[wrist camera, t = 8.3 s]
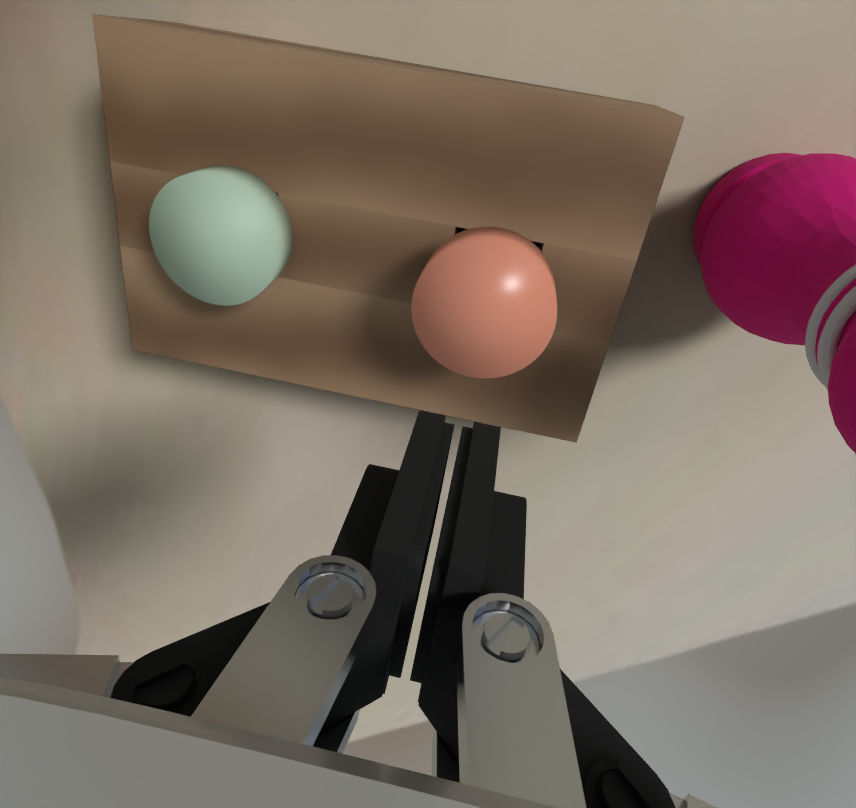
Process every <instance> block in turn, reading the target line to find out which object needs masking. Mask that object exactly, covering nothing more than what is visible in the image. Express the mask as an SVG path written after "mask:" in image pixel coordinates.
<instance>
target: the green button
mask: <svg viewBox="0 0 856 808" xmlns="http://www.w3.org/2000/svg"><path fill="white" fill-rule="evenodd" d="M149 232H150V239H151V243H152V246H153V249H154V252H155V254H156V257H157V259H158V261H159V262H160V264H161V266H162V267H163V269H164V270H165V272H166V273H167V274H168V276H169V277H170V278H171V279H172V280H173V281H174V282H175V283H176V284H177V285H178V286H179V287H180V288H182V289H183V290H184V291H185V292H187V293H188V294H190V295H192V296H193V297H195V298H197V299H199V300H202V301H204V302H207V303H211V304H215V305H222V306H230V305H238V304H241V303H245V302H247V301H249V300H251V299H253V298H254V297H256V296H257V295H258V294H259V293H261V292H262V291H263V290H264V289H265V288H267V287H268V286H269V285H270V284H271V283H272V282H274V281H275V280H276V279H277V278H278V277H279V276H280V275H281V274H282V273H283V271H284V270H285V268H286V267H287V265H288V263H289V260H290V258H291V254H292V249H293V231H292V225H291V222H290V218H289V215H288V213H287V211H286V208H285V207H284V205H283V203H282V201H281V200H280V198H279V197H278V193H275V192H274V190H273V189H272V188H271V187H270V186H269V185H268V184H267V183H266V182H264V181H263V180H262V179H260V178H259V177H258V176H256V175H255V174H253V173H251V172H249V171H247V170H244V169H242V168H239V167H235V166H229V165H215V166H210V167H206V168H203V169H200V170H197V171H194V172H191V173H188V174H185V175H182V176H179V177H177V178H175V179H173V180H171V181H170V182H168V183H167V184H166V185H165V186H164V187H163V188H162V189H161V190H160V191H159V192H158V194H157V196H156V197H155V199H154V202H153V204H152V207H151V211H150V217H149Z"/></svg>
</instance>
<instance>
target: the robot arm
mask: <svg viewBox="0 0 856 808" xmlns="http://www.w3.org/2000/svg"><path fill="white" fill-rule="evenodd" d="M453 429H454V424H449V423H445V415H440V414H436V413H431V412H426V411H421V410H420V411H419V413H418V416H417V419H416V422H415V425H414V428H413V431H412V434H411V437H410V440H409V443H408V446H407V449H406V452H405V455H404V458H403V461H402V464H401V467H400V470H395V469H390V468H385V467H381V466H376V465H371V464H369V465H368V466H367V469H366V471H365V473H364V475H363V478H362V480H361V483H360V485H359V488H358V490H357V492H356V495H355V497H354V500H353V502H352V505H351V507H350V509H349V512H348V514H347V517H346V519H345V522H344V524H343V527H342V529H341V531H340V534H339V536H338V539H337V541H336V544H335V546H334V548H333V551H332V553H331V555H326V556H320V557H316V558H312V559H309V560H307V561H306V562H304V563H302V564H300V565H299V566H298V567H297V568H296V569H295V570H294V571H293V572H292V573H291V574H290V575H289V576H288V578H287V579H286V581H285V582H284V584H283V585H282V586H281V588H280V589H279V591H278V592H277V594H276V595H275V596H274V598H273V599H272V601H271V602H269V603H267V604H264V605H262V606H260V607H257V608H255V609H252V610H250V611H248V612H245V613H243V614H241V615H238V616H236V617H233V618H231V619H229V620H226V621H224V622H221V623H219V624H217V625H214V626H212V627H209V628H207V629H205V630H202V631H200V632H198V633H195V634H193V635H190V636H188V637H186V638H183V639H181V640H178V641H176V642H174V643H171V644H169V645H167V646H164V647H162V648H159V649H157V650H155V651H152V652H150V653H149V654H147V655H145V656H143V657H141V658H140V659H138V660H136V661H135V662H120V660H119V655H53V654H49V655H48V654H0V808H717V807H714V806H712V805H710V804H708V803H706V802H704V801H702V800H700V799H698V798H696V797H694V796H692V795H690V794H688V795H687V796H686V798H685V799H681V798H679V797H677V796H675V795H673V794H671V793H669V791H668V789H667V788H666V787H665V785H664V784H663V783H662V781H661V780H660V778H659V777H658V776H657V774H656V773H655V772H654V771H653V770H652V769H651V768H650V767H649V765H648V764H647V763H646V762H645V761H644V760H643V759H642V758H641V757H640V756H639V755H638V754H637V752H636V751H635V750H634V749H633V748H632V747H631V746H630V745H629V744H628V743H627V741H626V740H625V739H624V738H623V737H622V736H621V735H620V734H619V733H618V732H617V730H616V729H615V728H614V727H613V726H612V725H611V724H610V723H609V722H608V721H607V720H606V718H604V716H603V715H602V714H601V713H600V712H599V711H598V710H597V709H596V707H595V706H594V705H593V704H592V703H591V702H590V701H589V700H588V699H587V698H586V697H585V696H584V694H583V693H582V692H581V691H580V690H579V689H578V688H577V687H576V686H575V685H574V684H573V682H572V681H571V680H570V679H569V678H568V677H567V676H566V675H565V674H564V673H563V671H562V670H561V669H560V667H559V662H558V656H557V651H556V646H555V641H554V635H553V632H552V630H551V627H550V624H549V622H548V621H547V619H546V618H545V617H544V615H543V614H542V612H541V611H540V610H538V609H537V608H536V607H535V606H533V605H532V604H531V603H530V602H528V601H526V600H524V568H525V538H526V507H527V504H526V498H524V497H519V496H515V495H510V494H506V493H501V492H496V491H494V486H495V476H496V467H497V458H498V448H499V439H500V429H501V428H500V427H498V426H493V425H488V424H483V423H479V422H474V425H473V428H468V427H463V428H462V432H461V437H460V442H459V447H458V451H457V456H456V461H455V466H454V470H453V475H452V480H451V485H450V490H449V494H448V499H447V504H446V509H445V513H444V518H443V523H442V528H441V532H440V537H439V542H438V547H437V552H436V557H435V562H434V566H433V571H432V576H431V581H430V586H429V591H428V595H427V600H426V605H425V610H424V615H423V620H422V624H421V629H420V634H419V639H418V644H417V649H416V654H415V658H414V663H413V668H412V673H411V678H410V680H411V681H415V682H419V683H421V688H420V694H419V699H418V702H419V707H420V708H421V710H422V711H423V712H424V714H425V715H426V717H427V718H428V720H429V721H430V723H431V724H432V725H433V727H434V730H433V736H432V776H430V775H426V774H422V773H418V772H414V771H410V770H406V769H402V768H397V767H393V766H390V765H386V764H382V763H377V762H373V761H370V760H365V759H361V758H357V757H353V756H349V755H345V754H343V751H344V749H345V747H346V744H347V742H348V740H349V738H350V735H351V733H352V731H353V729H354V726H355V724H356V722H357V719H358V715H359V711H360V709H361V708H363V707H364V706H366V705H368V704H370V703H371V702H373V701H375V700H377V699H378V698H380V697H382V694H385V690H386V686H387V682H388V678H389V675H390V676H394V677H398V678H400V677H401V673H402V669H403V664H404V660H405V655H406V651H407V646H408V642H409V637H410V633H411V628H412V624H413V619H414V615H415V610H416V606H417V601H418V597H419V592H420V588H421V583H422V579H423V574H424V570H425V565H426V561H427V556H428V552H429V547H430V543H431V538H432V534H433V529H434V524H435V519H436V514H437V509H438V504H439V499H440V494H441V489H442V484H443V479H444V474H445V469H446V464H447V459H448V454H449V449H450V444H451V439H452V434H453Z"/></svg>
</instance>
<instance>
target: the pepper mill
mask: <svg viewBox="0 0 856 808" xmlns="http://www.w3.org/2000/svg"><path fill="white" fill-rule="evenodd" d="M693 238H694V247H695V253H696V256H697V258H698V260H699V263H700V264H701V267H702V276H703V279H704V283H705V286H706V289H707V292H708V294H709V295H710V297H711V299H712V301H713V302H714V304H715V305H716V306H717V307H718V308H719V310H720V311H721V312H722V313H724V314H725V315H726V316H727V317H728V318H729V319H730V320H731V321H733V322H734V323H735V324H736V325H738V326H739V327H741V328H743V329H744V330H746V331H748V332H749V333H752V334H755V335H757V336H760V337H763V338H766V339H769V340H772V341H776V342H780V343H784V344H796V345H805V348H806V356H807V359H808V362H809V365H810V367H811V369H812V371H813V373H814V374H815V376H816V377H817V378H818V379H819V381H820V382H821V383H822V384H823V385H824V386H825V387H826V388H827V389H828V397H829V405H830V409H831V412H832V416H833V419H834V422H835V425H836V427H837V429H838V430H839V432H840V434H841V435H842V437H843V438H844V440H845V442H846V443H847V445H848V446H849V447H850V448H851V449H852V450H853V451H854V452H855V453H856V159H855V158H853V157H850V156H844V155H839V154H807V155H799V154H791V153H779V154H770V155H766V156H762V157H759V158H755V159H752V160H750V161H748V162H746V163H744V164H742V165H740V166H738V167H737V168H735V169H734V170H732V171H730V172H729V173H728V174H727V175H726V176H725V177H723V178H722V179H721V180H720V181H719V182H718V183H717V184H716V185H715V186H714V188H713V189H712V190H711V191H710V193H709V194H708V195H707V196H706V198H705V200H704V201H703V203H702V205H701V207H700V209H699V212H698V215H697V218H696V222H695V225H694V235H693Z"/></svg>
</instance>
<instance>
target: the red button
mask: <svg viewBox="0 0 856 808" xmlns="http://www.w3.org/2000/svg"><path fill="white" fill-rule="evenodd" d="M411 312H412V321H413V325H414V329H415V331H416V334H417V336H418V338H419V340H420V342H421V344H422V345H423V347H424V348H425V350H426V351H427V352H428V353H429V354H430V355H431V356H432V357H433V358H434V359H435V360H436V361H437V362H438V363H440V364H441V365H443V366H444V367H446V368H447V369H449V370H451V371H453V372H456V373H458V374H461V375H464V376H468V377H473V378H487V379H488V378H498V377H503V376H507V375H510V374H513V373H515V372H517V371H519V370H521V369H523V368H525V367H526V366H528V365H529V364H531V363H532V362H533V361H534V360H535V359H537V357H538V356H539V355H540V354H541V353H542V352H543V351H544V349H545V348H546V346H547V345H548V343H549V341H550V339H551V337H552V335H553V332H554V329H555V325H556V320H557V299H556V286H555V279H554V275H553V272H552V269H551V266H550V264H549V262H548V261H547V259H546V257H545V256H544V254H543V253H542V252H541V250H540V249H539V248H538V247H537V246H536V245H535V244H534V243H532V242H531V241H530V240H528V239H527V238H526V237H524V236H522V235H520V234H519V233H516V232H514V231H511V230H508V229H504V228H500V227H476V228H471V229H468V230H464V231H462V232H460V233H457V234H455V235H454V236H452V237H450V238H449V239H447V240H446V241H445V242H443V243H442V244H441V245H440V246H439V247H438V248H437V249H436V250H435V252H434V253H433V254H432V256H431V257H430V259H429V260H428V262H427V264H426V266H425V268H424V270H423V272H422V273H421V275H420V277H419V279H418V281H417V283H416V286H415V289H414V292H413V297H412V305H411Z"/></svg>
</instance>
